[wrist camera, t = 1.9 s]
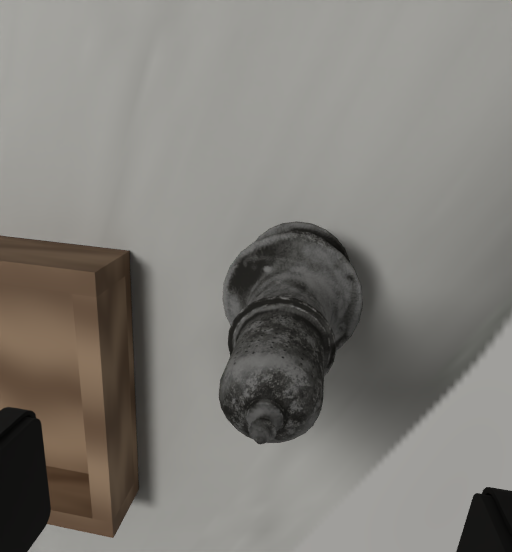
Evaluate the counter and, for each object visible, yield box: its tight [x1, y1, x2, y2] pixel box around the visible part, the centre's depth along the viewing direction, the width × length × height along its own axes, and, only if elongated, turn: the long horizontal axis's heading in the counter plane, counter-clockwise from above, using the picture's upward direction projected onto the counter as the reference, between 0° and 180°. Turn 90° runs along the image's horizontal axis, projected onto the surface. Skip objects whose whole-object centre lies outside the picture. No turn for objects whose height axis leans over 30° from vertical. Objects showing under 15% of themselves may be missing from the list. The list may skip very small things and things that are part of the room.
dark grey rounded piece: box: [219, 222, 363, 444], centre depth 15 cm, size 6×6×12 cm
